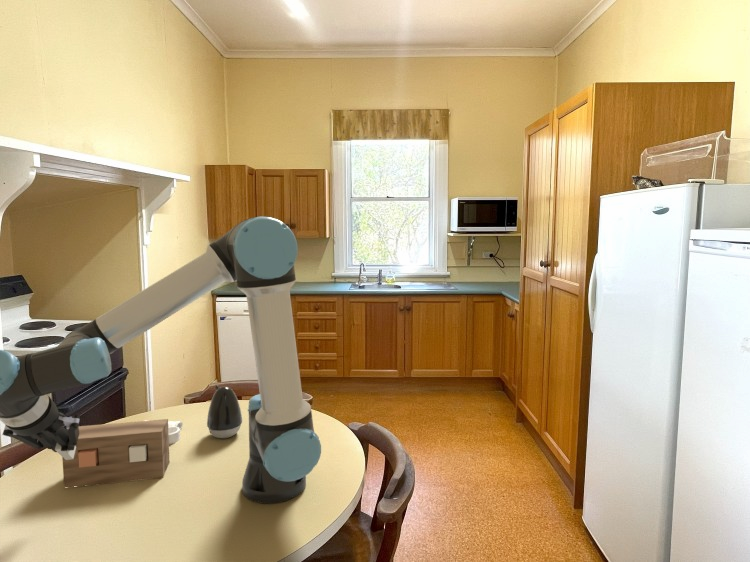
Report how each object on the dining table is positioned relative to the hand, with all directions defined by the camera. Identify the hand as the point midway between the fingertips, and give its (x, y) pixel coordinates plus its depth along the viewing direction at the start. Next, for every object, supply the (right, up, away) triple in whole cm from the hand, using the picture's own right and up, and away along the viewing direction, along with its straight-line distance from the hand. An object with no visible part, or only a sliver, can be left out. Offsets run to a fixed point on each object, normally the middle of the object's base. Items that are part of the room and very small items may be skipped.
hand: (71, 453), depth 100 cm
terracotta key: (-2, -6, +11) cm, 13 cm away
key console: (+2, -11, +15) cm, 19 cm away
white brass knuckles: (0, -10, +37) cm, 38 cm away
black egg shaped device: (+21, -9, +39) cm, 45 cm away
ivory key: (+8, -6, +14) cm, 17 cm away
